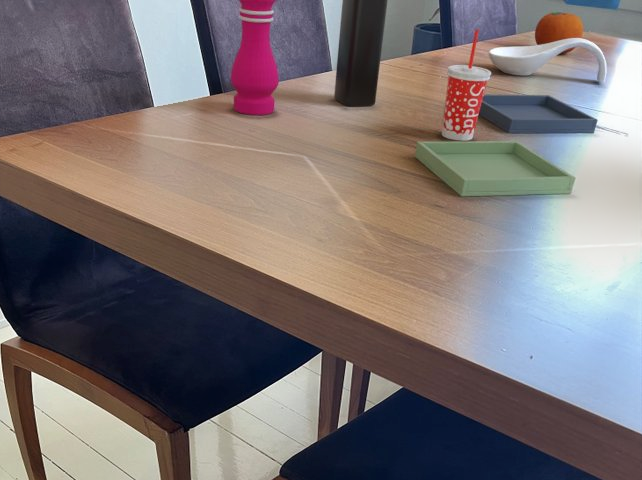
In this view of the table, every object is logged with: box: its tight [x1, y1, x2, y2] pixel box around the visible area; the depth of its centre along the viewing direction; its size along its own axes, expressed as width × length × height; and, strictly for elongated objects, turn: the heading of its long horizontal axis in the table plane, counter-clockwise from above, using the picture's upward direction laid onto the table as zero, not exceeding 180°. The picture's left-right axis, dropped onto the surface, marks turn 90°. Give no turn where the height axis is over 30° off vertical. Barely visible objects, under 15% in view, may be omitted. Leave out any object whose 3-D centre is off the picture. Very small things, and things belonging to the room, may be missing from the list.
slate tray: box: [478, 94, 599, 134], centre depth 119 cm, size 15×15×2 cm
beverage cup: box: [441, 28, 492, 141], centre depth 105 cm, size 6×6×14 cm
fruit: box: [534, 11, 584, 54], centre depth 169 cm, size 11×10×8 cm
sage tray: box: [414, 140, 576, 197], centre depth 95 cm, size 15×15×2 cm
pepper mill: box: [230, 0, 280, 116], centre depth 106 cm, size 7×7×20 cm
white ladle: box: [488, 38, 607, 84], centre depth 147 cm, size 24×12×7 cm, turn 79°
